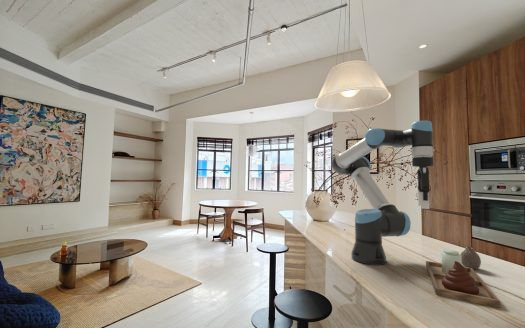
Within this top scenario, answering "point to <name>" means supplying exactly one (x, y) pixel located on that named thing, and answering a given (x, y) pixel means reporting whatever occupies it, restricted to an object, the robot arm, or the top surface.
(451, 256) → the jar
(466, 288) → the poop emoji
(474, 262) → the vase
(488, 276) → the top surface
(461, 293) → the divided wooden tray
